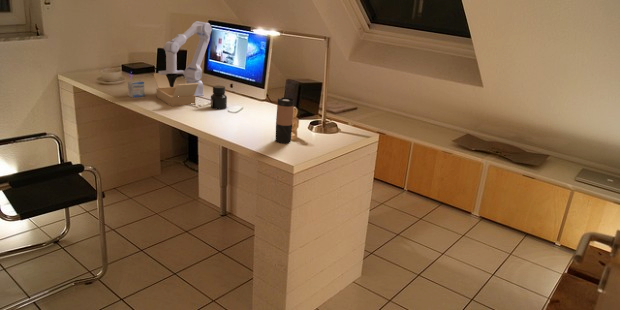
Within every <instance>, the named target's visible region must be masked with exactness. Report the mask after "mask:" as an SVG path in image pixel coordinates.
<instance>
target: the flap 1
mask: <svg viewBox="0 0 620 310" xmlns="http://www.w3.org/2000/svg"><path fill="white" fill-rule="evenodd" d="M153 77H154V80H155V83H156V85H157V89H159V88H176V86H177V84H178V81H177V79H176V80H175V82H174V87H170V84H169V81H168V78H167V76H166V75H159V72H154V73H153Z"/></svg>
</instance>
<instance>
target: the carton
mask: <svg viewBox="0 0 620 310" xmlns="http://www.w3.org/2000/svg"><path fill="white" fill-rule="evenodd" d="M175 89H176V87H175V88H159V89H158V88H156V98H157V99H159V100H161V101H163V102H164V103H165V104H167V105H169V106H171V107H178V106H188V104H191V103H195V104H196V96H195V95H191V96H179V97H178V96H177V97H173V94H174V91H175ZM191 105H192V104H191Z"/></svg>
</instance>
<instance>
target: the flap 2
mask: <svg viewBox="0 0 620 310" xmlns="http://www.w3.org/2000/svg"><path fill="white" fill-rule="evenodd" d="M198 84H199V83H192V84H186V83H177V86H176V87H175V88H176V89H175V91H174V94H173V97H177V96H191V95H194V93H195V91H196V89H197V86H198Z"/></svg>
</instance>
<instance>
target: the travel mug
mask: <svg viewBox="0 0 620 310" xmlns="http://www.w3.org/2000/svg"><path fill="white" fill-rule="evenodd" d="M276 104H277V105H276V116H275V117H276V118H275V119H276V122H275V142H276V143H278V142H279V144H289V142H290V143H291V141H292V133H293V132H292V131H293V124H294V123H293V122H294V108H295V107H294V106H295V99H294V98H291V97H281V98H279V97H278V98H277V103H276Z"/></svg>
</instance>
